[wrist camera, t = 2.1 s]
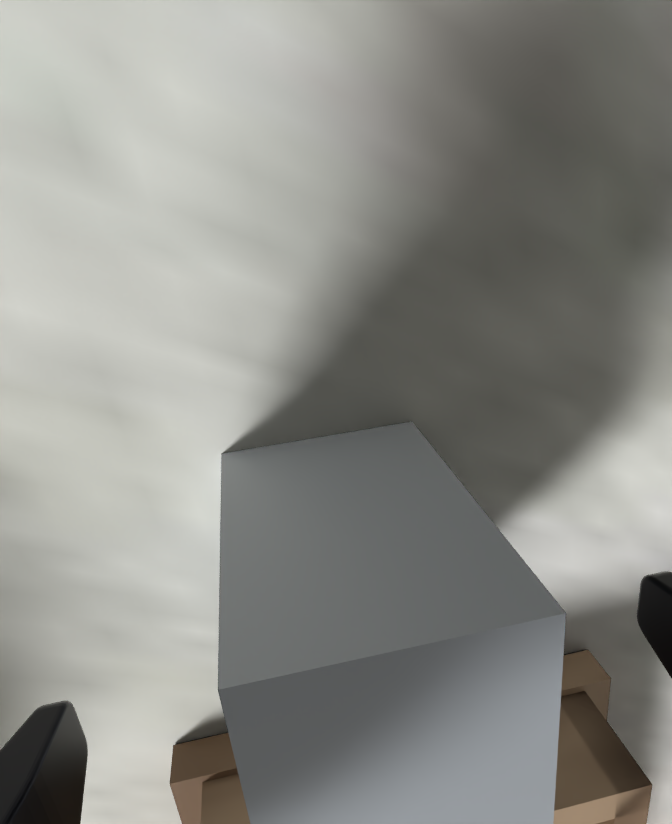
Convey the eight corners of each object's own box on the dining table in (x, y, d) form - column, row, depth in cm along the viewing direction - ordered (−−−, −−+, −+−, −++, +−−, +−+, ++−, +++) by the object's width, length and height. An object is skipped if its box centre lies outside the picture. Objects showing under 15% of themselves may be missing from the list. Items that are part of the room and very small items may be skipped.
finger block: (411, 420, 12) (565, 612, 7) (421, 592, 14) (551, 858, 8) (221, 452, 12) (217, 689, 6) (255, 626, 13) (277, 934, 8)
